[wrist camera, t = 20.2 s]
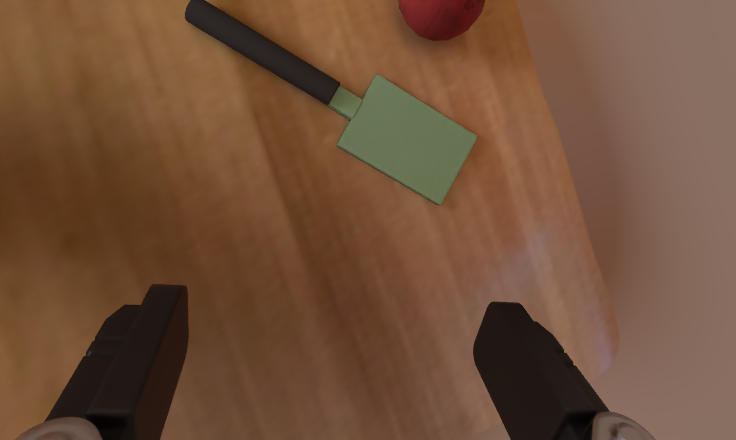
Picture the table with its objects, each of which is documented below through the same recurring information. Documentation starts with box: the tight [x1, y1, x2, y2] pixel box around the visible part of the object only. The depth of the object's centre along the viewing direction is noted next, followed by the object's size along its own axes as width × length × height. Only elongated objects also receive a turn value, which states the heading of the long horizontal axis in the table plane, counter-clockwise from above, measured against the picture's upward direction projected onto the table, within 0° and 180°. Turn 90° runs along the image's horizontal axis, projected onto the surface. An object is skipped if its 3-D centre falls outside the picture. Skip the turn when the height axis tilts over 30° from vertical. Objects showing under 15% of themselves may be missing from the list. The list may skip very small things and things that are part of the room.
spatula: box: [185, 0, 478, 205], centre depth 30 cm, size 22×6×2 cm, turn 61°
